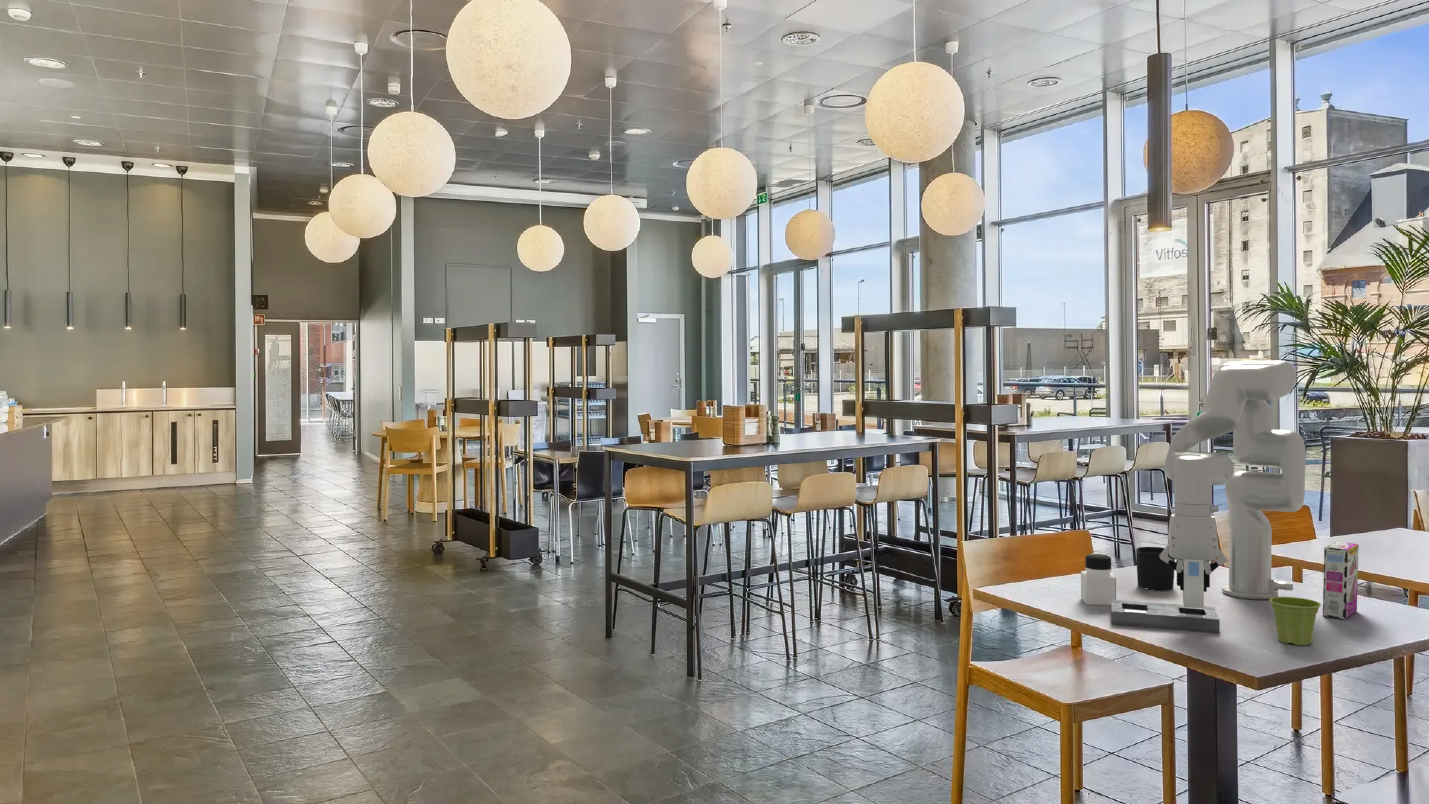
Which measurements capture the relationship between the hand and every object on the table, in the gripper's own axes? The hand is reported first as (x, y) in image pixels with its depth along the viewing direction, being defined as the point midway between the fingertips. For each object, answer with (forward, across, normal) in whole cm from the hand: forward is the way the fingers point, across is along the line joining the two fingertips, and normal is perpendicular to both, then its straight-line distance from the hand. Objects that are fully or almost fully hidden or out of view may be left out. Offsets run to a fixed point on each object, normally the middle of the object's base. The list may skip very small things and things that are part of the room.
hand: (1193, 588), depth 219 cm
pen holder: (+9, +6, -36) cm, 38 cm away
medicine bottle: (+8, +20, -14) cm, 26 cm away
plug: (+4, 0, 0) cm, 4 cm away
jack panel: (+8, +6, +1) cm, 10 cm away
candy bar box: (+9, -33, -20) cm, 40 cm away
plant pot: (+8, -19, +9) cm, 22 cm away
